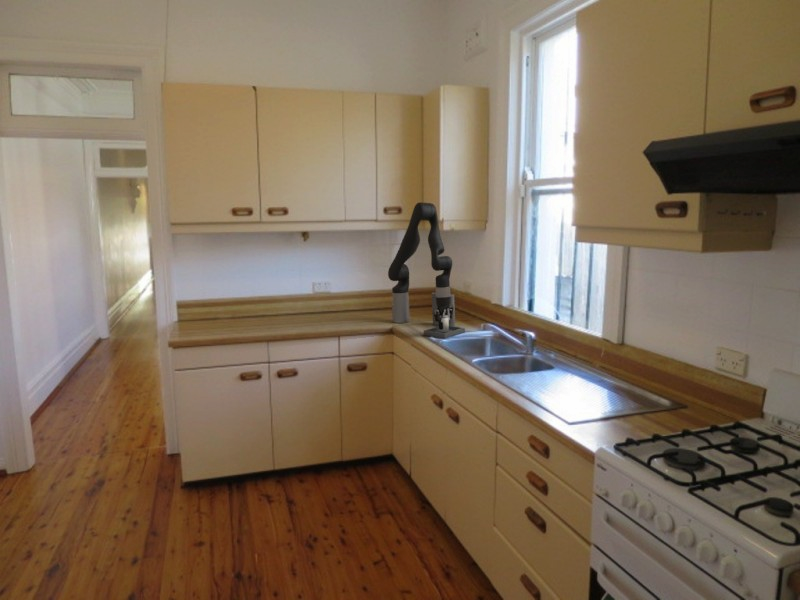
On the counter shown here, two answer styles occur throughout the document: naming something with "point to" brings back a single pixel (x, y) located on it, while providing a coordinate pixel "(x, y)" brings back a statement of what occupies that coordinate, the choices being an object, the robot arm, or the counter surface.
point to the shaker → (445, 324)
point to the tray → (437, 333)
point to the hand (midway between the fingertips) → (444, 328)
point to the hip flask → (434, 306)
